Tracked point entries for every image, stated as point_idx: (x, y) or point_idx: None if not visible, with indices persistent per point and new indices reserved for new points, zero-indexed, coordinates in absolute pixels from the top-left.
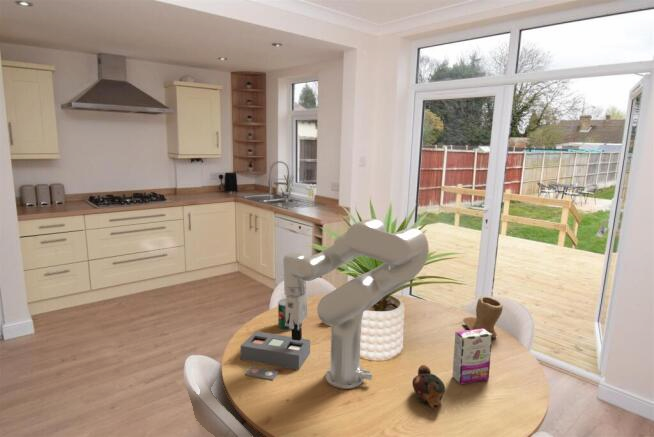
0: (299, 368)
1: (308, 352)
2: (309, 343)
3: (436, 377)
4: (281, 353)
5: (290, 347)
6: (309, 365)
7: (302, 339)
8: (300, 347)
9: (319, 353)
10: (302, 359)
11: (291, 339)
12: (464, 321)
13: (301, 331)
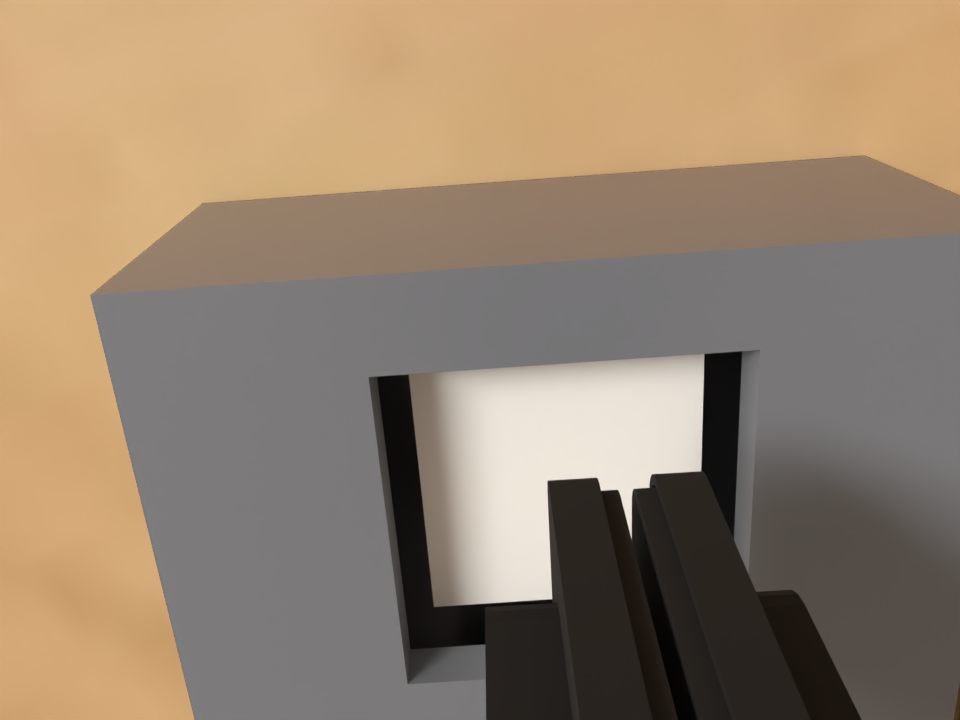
0: (840, 160)
1: (292, 212)
2: (181, 267)
3: None
4: (955, 625)
5: (522, 576)
6: (646, 25)
7: (187, 481)
8: (432, 393)
9: (111, 10)
10: (695, 192)
11: (313, 690)
12: None
13: (589, 662)
